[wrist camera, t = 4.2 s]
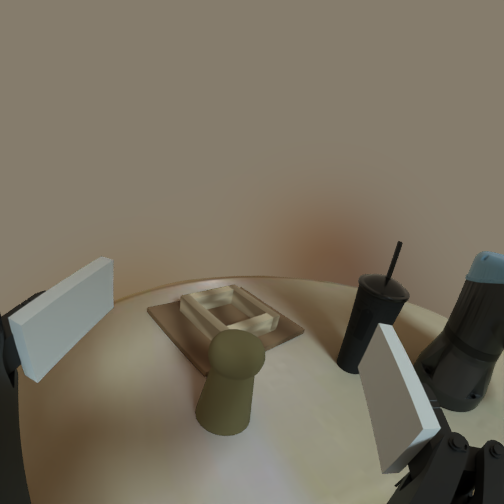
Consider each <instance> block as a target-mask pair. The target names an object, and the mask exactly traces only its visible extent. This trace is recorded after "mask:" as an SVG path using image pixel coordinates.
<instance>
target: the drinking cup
mask: <svg viewBox="0 0 504 504" xmlns="http://www.w3.org/2000/svg"><path fill="white" fill-rule="evenodd" d="M401 247H402V242H400V241H398V243H397V246H396V249H395V252H394V255H393V258H392V261H391V264H390V267H389V270H388V273H387V275H382V274H365V275H361V276H360V278H359V287H358V291H357V295H356V299H355V302H354V306H353V309H352V313H351V316H350V320H349V323H348V326H347V330H346V333H345V336H344V339H343V343H342V346H341V349H340V352H339V355H338V358H337V363H338V365H339V367H340V368H341V369H343V370H344V371H346V372H348V373H352V374H359V370H358V366H359V364H360V362H361V360H362V358H363V356H364V353H365V351H366V349H367V347H368V345H369V343H370V341H371V339H372V337H373V334H374V332H375V330H376V328H377V325H378V323H381V324H387V325H393V323H394V322H395V320H396V318H397V316H398V314H399V313H400V311H401V309H402V307H403V305H404V303H405V302H407V301H408V299H409V297H410V296H409V292H408V291H407V290H406V289H405V288H404V287H403V286H402V285H401V284H400V283H399V282H398V281H396V280H395V279H393V278H391V276H392V273H393V270H394V267H395V264H396V261H397V258H398V256H399V252H400V250H401Z"/></svg>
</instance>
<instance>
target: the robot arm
mask: <svg viewBox="0 0 504 504" xmlns="http://www.w3.org/2000/svg"><path fill="white" fill-rule="evenodd" d="M113 262H114V261H113V260H112V259H109V258H106V257H102V256H101V257H99V258H98V259H96V260H94V261H93V262H91V263H89V264H88V265H86V266H85V267H83V268H81V269H80V270H78V271H77V272H75V273H73V274H72V275H70V276H69V277H67V278H66V279H64V280H63V281H61V282H59V283H58V284H57V285H55V286H53V287H52V288H51V289H49V290H47V291H42V292H39V293H37V294H34V295H33V296H31V297H30V298H28V300H25V301H24V302H23V303H21V304H19V305H18V306H16V307H15V308H13V309H12V310H11V311H9V312H8V313H6V314H5V315H3V316H2V317H1V314H0V504H31V501H30V496H29V492H28V487H27V482H26V477H25V471H24V464H23V457H22V449H21V440H20V429H19V412H18V372H17V369H16V368H17V367H18V366H19V365H22V368H23V371H24V374H25V375H26V376H28V377H29V378H31V379H32V380H34V381H35V382H37V383H38V382H39V381H40V380H41V379H42V378H43V377H44V376H45V375H46V374H47V373H48V372H49V371H50V370H51V369H52V368H53V367H54V366H55V364H56V363H57V362H58V361H59V360H60V359H61V358H62V357H63V356H64V355H65V354H66V353H67V352H68V351H69V350H70V349H71V348H72V347H73V346H74V345H75V344H76V343H77V342H78V341H79V340H80V339H81V338H82V337H83V336H84V335H85V334H86V333H87V332H88V331H89V330H90V329H92V328H93V327H94V326H95V325H96V324H97V323H98V322H99V321H100V320H101V319H102V318H103V317H104V316H105V315H106V314H107V313H108V312H109V311H110V310H111V309H112V308H113V307H114V304H113ZM503 350H504V255H502V254H498V253H493V252H488V251H484V252H480V253H479V254H478V255H477V256H476V257H475V259H474V261H473V264H472V266H471V268H470V270H469V273H468V274H467V275H466V281H465V283H464V286H463V288H462V291H461V293H460V295H459V298H458V300H457V303H456V305H455V307H454V309H453V311H452V313H451V315H450V317H449V319H448V322H447V324H446V326H445V328H444V329H443V331H442V332H441V333H440V334H439V335H438V336H437V338H436V339H435V340H434V341H433V342H432V343H431V344H430V345H429V346H428V347H426V348H425V349H424V350H423V351H422V352H421V354H420V355H419V357H418V358H417V360H416V362H415V364H414V366H413V365H412V363H411V361H410V359H409V357H408V355H407V353H406V351H405V349H404V347H403V345H402V344H401V342H400V340H399V338H398V336H397V334H396V332H395V330H394V328H393V326H392V325H387V324H381V323H378V325H377V328H376V330H375V332H374V334H373V337H372V339H371V341H370V343H369V345H368V347H367V349H366V351H365V353H364V356H363V358H362V360H361V362H360V364H359V366H358V370H359V374H360V377H361V381H362V385H363V389H364V393H365V397H366V401H367V405H368V409H369V414H370V418H371V422H372V427H373V431H374V436H375V440H376V445H377V450H378V455H379V460H380V465H381V470H382V474H388V473H399V472H400V471H401V470H403V469H404V468H405V467H406V466H407V465H408V467H409V470H410V472H409V473H408V474H407V475H405V476H404V477H403V478H402V479H401V480H400V481H399V482H398V483H397V484H396V485H395V487H397V486H398V485H399V484H400V485H399V486H398V488H397V489H396V491H395V492H394V494H393V495H392V497H391V498H390V500H389V501H388V503H387V504H504V446H503V445H502V444H501V443H500V442H497V441H495V440H490V441H487V442H486V444H485V445H484V446H483V447H482V448H477V447H471V446H469V444H468V441H467V440H466V439H465V437H463V436H462V435H461V434H459V433H456V432H451V429H450V427H449V425H448V422H447V420H446V418H445V416H444V413H443V411H442V409H440V406H442V407H444V408H447V409H449V410H453V411H458V412H466V411H470V410H473V409H474V408H476V407H477V406H478V404H479V403H480V401H481V400H482V399H483V397H484V396H485V394H486V391H487V388H488V385H489V382H490V379H491V376H492V373H493V370H494V366H495V364H496V362H497V360H498V358H499V356H500V355H501V353H502V351H503ZM474 489H475V492H474V495H473V496H472V493H473V490H474Z"/></svg>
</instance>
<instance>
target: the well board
mask: <svg viewBox="0 0 504 504" xmlns="http://www.w3.org/2000/svg"><path fill="white" fill-rule="evenodd" d="M148 313H149V314H150V316H151V317H152V318H153V319H154V320H155V322H156V323H157V324H158V325H159V326H160V328H161V329H162V330H163V331H164V332H165V333H166V335H167V336H168V337H169V338H170V339H171V340H172V341H173V343H174V344H175V345H176V346H177V347H178V348H179V349H180V350H181V351H182V353H183V354H184V355H185V356H186V357H187V358H188V359H189V360H190V361H191V362H192V363H193V365H194V366H195V367H196V368H197V369H198V370H199V371H200V372H201V373H202V374H203V375H204V376H205V377H206V376H208V374H209V371H210V368H211V365H210V362H209V358H208V349H209V345H210V342H211V340H212V339H213V338H214V337H215V336H216V335H217V334H218V333H219V332H221V331H224V330H228V329H239V330H244V331H247V332H250V333H252V334H253V335H255V336H257V337H258V338H259V339H260V340H261V342H262V344H263V346H264V348H265V351H267V350H269V349H271V348H273V347H275V346H278V345H280V344H282V343H284V342H286V341H288V340H290V339H292V338H294V337H296V336H298V335H301V334H303V332H304V330H305V329H303V328H302V327H300V326H299V325H297V324H296V323H294V322H293V321H291V320H290V319H288V318H287V317H285V316H284V315H282V314H281V313H279V312H278V311H276V310H275V309H273V308H272V307H270V306H269V305H267V304H266V303H264V302H263V301H261V300H260V299H258V298H257V297H255V296H254V295H252V294H251V293H249V292H248V291H246V290H245V289H243V288H242V287H241V288H239V287H238V286H236V285H230V286H225V287H221V288H216V289H211V290H206V291H202V292H197V293H192V294H187V295H182V296H181V301H177V302H173V303H168V304H163V305H158V306H154V307H149V308H148Z"/></svg>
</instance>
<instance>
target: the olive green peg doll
mask: <svg viewBox="0 0 504 504" xmlns="http://www.w3.org/2000/svg"><path fill="white" fill-rule="evenodd" d="M208 358H209V362H210V365H211V368H210V371H209V374H208V376H207V379H206V382H205V385H204V388H203V390H202V393H201V396H200V399H199V402H198V404H197V408H196V412H195V413H196V419H197V420H198V422H199V424H200V425H201V426H202V427H203V428H205V429H206V430H207V431H209V432H211V433H214V434H217V435H222V436H230V435H235V434H238V433H241V432H242V431H243V430H244V429H246V428H247V426H248V424H249V421H250V412H251V403H252V394H253V385H254V376H255V375H256V374H257V373H258V372H259V371H260V369H261V368H262V366H263V364H264V361H265V348H264V346H263V344H262V342H261V340H260V339H259V338H258V337H257V336H255V335H253V334H252V333H250V332H247V331H244V330H239V329H228V330H224V331H221V332H219V333H218V334H217V335H216V336H215V337H214V338H213V339H212V340H211V342H210V345H209V349H208Z"/></svg>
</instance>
